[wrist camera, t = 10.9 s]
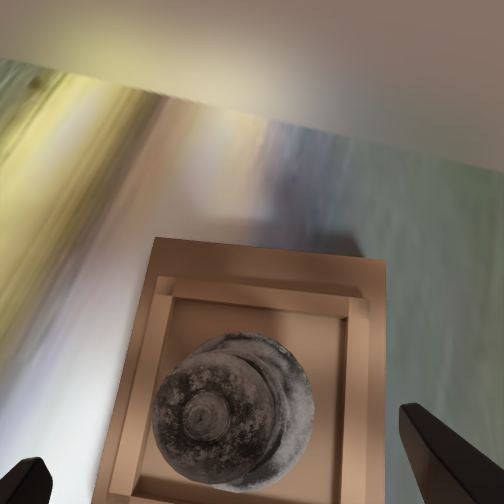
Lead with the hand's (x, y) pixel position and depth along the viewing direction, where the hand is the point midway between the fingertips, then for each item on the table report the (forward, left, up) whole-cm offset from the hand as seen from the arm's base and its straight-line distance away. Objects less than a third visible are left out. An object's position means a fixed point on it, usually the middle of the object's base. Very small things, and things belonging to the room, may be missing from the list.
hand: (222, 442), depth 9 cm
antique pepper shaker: (+1, 0, -9) cm, 9 cm away
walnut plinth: (+1, 0, -12) cm, 12 cm away
